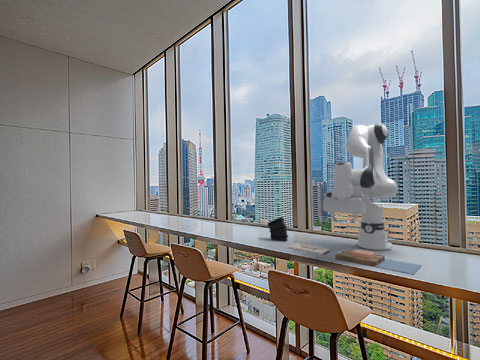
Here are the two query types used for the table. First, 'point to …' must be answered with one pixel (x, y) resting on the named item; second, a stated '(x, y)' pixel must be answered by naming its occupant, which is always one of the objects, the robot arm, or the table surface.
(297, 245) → the newspaper
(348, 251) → the deck
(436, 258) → the table surface
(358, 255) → the salmon pink block
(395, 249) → the table surface
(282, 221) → the black folded cloth
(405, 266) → the mat
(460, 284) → the table surface
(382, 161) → the robot arm
